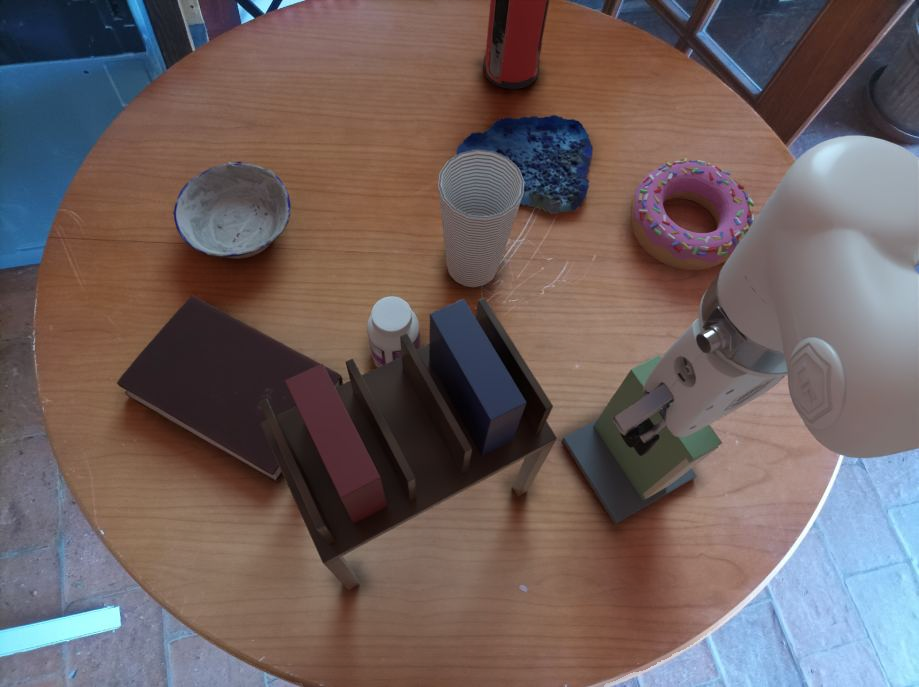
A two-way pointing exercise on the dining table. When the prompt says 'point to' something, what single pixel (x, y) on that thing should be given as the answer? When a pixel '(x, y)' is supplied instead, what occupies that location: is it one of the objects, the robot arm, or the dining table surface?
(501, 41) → the speaker
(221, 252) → the bowl
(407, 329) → the pill bottle
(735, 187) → the donut
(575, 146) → the rock
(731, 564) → the dining table surface
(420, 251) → the dining table surface
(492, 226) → the cup
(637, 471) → the green book
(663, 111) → the dining table surface
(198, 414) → the book
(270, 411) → the rack
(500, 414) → the navy book
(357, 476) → the burgundy book
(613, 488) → the mat
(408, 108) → the dining table surface
